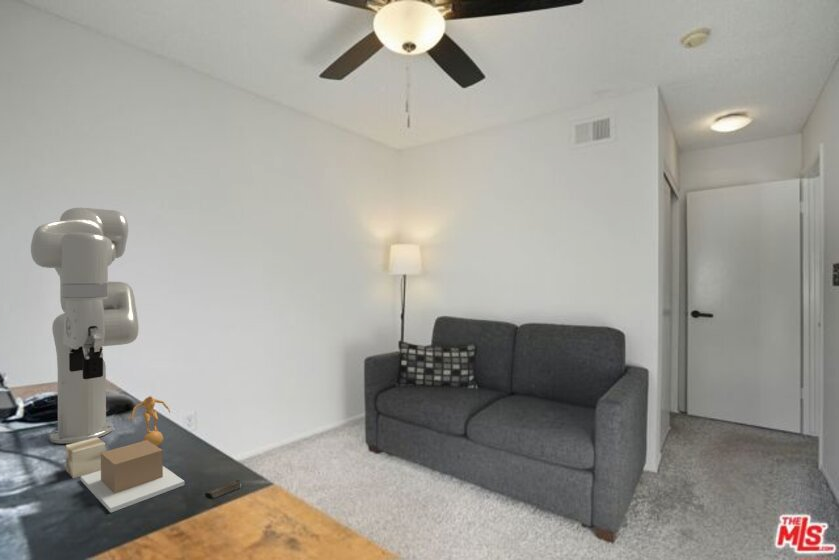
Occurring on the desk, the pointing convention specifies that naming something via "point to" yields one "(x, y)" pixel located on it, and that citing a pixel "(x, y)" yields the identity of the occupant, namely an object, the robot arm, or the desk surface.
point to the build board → (132, 492)
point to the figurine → (149, 403)
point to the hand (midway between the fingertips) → (85, 374)
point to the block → (224, 489)
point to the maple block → (84, 457)
